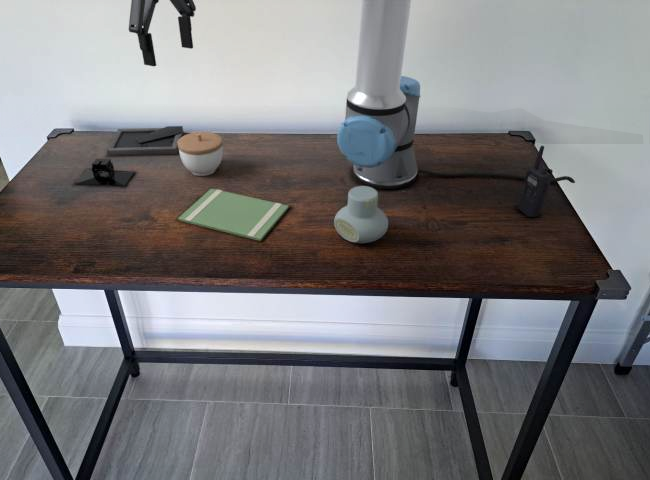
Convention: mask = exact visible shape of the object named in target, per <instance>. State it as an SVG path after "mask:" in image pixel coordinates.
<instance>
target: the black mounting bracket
mask: <svg viewBox="0 0 650 480" xmlns="http://www.w3.org/2000/svg"><path fill="white" fill-rule="evenodd" d="M134 175H135V171H127V170H115V167H114V164H113V162H112V160H111V159H110V158H95V159H94V161H93V162H92V163H91V169H86V170H85V171H84V172H83V173H82V174H81V175H80V177H79V178H78V179H77V180H76V182H75V185H76V186H78V185H79V186H98V187H102V186H103V187H122V188H124V187H126V186H127V185H128V183H129V182H130V180H131V179H132V178H133V176H134Z"/></svg>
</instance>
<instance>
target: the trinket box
mask: <svg viewBox="0 0 650 480" xmlns="http://www.w3.org/2000/svg"><path fill="white" fill-rule="evenodd" d="M177 145H178V153H179V157H180V160H181V163H182V164H183V166H184V167H185V168H186V169H187V171H189V172H191V174H192V175H194V176H199V177H206V176H209V175H212V174H214V173H215V172H216V170H217V169H218V168H219V167H220V165H221V163H222V159H223V155H224V153H223V152H224V150H223V138H222V137H221V136H220V135H219V134H217V133H214V132H211V131H197V132H195V131H194V132H191V133H187V134H184V135H183V136H182V137H181V138H180V139H179V140H178V142H177Z"/></svg>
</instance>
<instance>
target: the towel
mask: <svg viewBox="0 0 650 480" xmlns="http://www.w3.org/2000/svg"><path fill="white" fill-rule="evenodd" d="M289 208H290V206H289V205H287V204H283V203H281V202H280V203H279V202H274V201H269V200H265V199H260V198H256V197H251V196H247V195H242V194H238V193H234V192H229V191H226V190H222V189H218V188H217V189H216V188H210V189H209V190H208V191H206V193H204V194H203V195H202V196H201V197H200V198H199V199H197V201H195V202H194V203H193V204H192V205H191V206H190V207H189V208H188V209H187V210H185V211H184V212H183V213H182V214H181V215H180V216H178V218H177V220H178V221H179V222H183V223H187V224H191V225H195V226H199V227H203V228H207V229H211V230H215V231H219V232H222V233H226V234H227V233H228V234H231V235H235V236H239V237H242V238H247V239H251V240H255V241H258V242H261V241H262V240H263V239H264V238H265V237H266V236H267V234H269V232H270V231H271V230H272V229H273V227H274V226H275V225H276V224H277V223H278V221H280V219H281V218H282V217H283V215H285V214H286V212H287V211H288V210H289Z"/></svg>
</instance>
